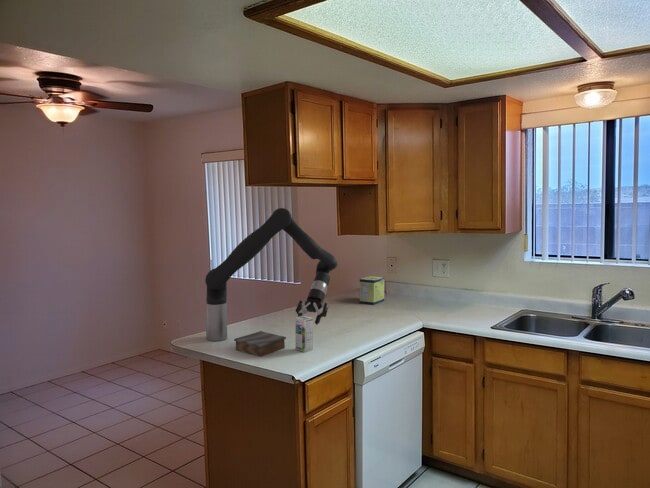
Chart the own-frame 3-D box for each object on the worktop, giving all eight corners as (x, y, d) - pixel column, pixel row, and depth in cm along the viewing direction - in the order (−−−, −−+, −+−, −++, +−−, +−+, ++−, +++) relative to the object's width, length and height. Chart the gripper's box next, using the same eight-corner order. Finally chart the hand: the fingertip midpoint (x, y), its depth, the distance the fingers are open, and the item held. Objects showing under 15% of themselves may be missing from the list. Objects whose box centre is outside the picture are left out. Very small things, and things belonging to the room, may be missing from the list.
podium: (234, 350, 212) (234, 338, 212) (260, 341, 225) (260, 331, 224) (260, 357, 202) (259, 345, 202) (286, 348, 215) (286, 337, 214)
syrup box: (294, 349, 212) (294, 317, 211) (304, 347, 216) (304, 315, 215) (303, 352, 208) (303, 319, 207) (313, 349, 212) (313, 317, 211)
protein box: (384, 300, 316) (384, 277, 314) (373, 305, 302) (374, 280, 301) (370, 299, 321) (370, 275, 320) (359, 303, 308) (359, 279, 307)
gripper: (301, 286, 224) (290, 316, 214) (329, 288, 218) (319, 319, 209) (306, 296, 229) (295, 325, 220) (334, 298, 224) (324, 328, 214)
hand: (307, 322), depth 214 cm, fingers open, 8 cm apart
